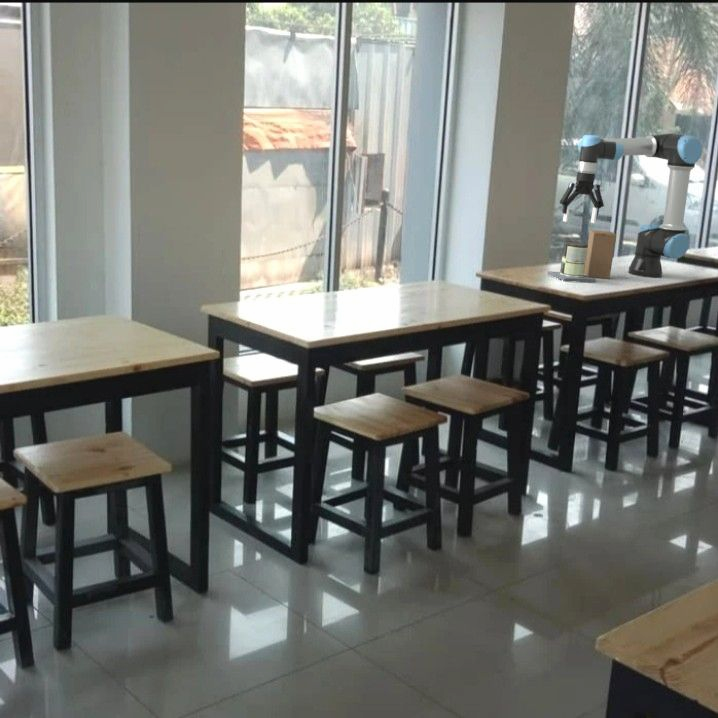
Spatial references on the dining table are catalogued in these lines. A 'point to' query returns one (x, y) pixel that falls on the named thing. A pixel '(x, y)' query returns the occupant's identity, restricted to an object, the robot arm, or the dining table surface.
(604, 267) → the wooden block
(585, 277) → the grey mat
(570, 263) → the coffee can
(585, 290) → the dining table surface
